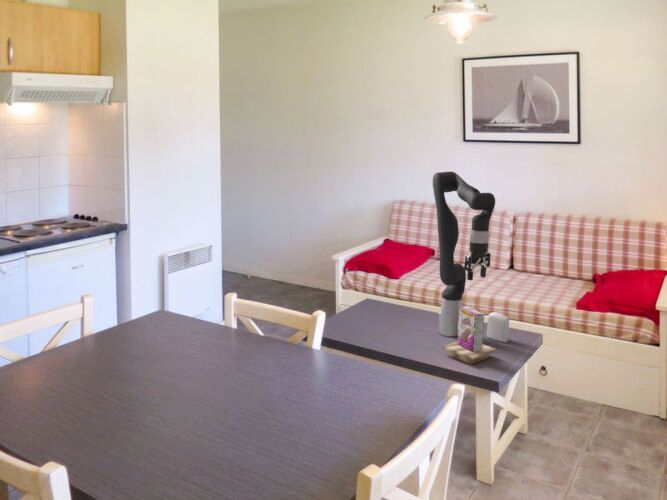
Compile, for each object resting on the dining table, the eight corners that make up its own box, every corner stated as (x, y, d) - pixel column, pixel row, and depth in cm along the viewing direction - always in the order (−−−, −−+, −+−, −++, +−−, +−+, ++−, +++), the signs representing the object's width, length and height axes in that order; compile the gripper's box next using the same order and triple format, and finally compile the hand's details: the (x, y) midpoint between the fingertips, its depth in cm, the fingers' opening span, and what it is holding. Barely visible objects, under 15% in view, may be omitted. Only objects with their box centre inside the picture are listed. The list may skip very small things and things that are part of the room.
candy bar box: (456, 344, 280) (458, 307, 276) (465, 342, 282) (468, 306, 278) (472, 352, 270) (475, 315, 266) (482, 351, 272) (485, 313, 269)
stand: (441, 355, 278) (442, 346, 277) (465, 347, 288) (466, 338, 287) (471, 366, 266) (472, 357, 265) (495, 358, 276) (496, 349, 275)
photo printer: (485, 337, 301) (487, 311, 299) (490, 335, 304) (492, 309, 301) (503, 343, 294) (505, 317, 291) (509, 341, 296) (511, 315, 294)
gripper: (482, 237, 278) (479, 274, 281) (461, 241, 269) (458, 279, 272) (497, 240, 272) (494, 278, 275) (475, 244, 263) (472, 283, 266)
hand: (476, 278), depth 274 cm, fingers open, 8 cm apart
